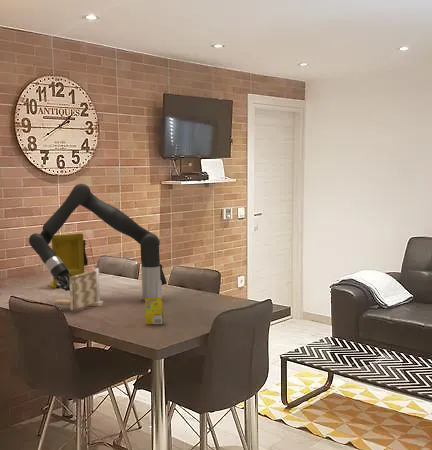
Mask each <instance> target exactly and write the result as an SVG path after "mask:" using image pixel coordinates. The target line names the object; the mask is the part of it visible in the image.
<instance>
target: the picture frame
mask: <svg viewBox="0 0 432 450" xmlns="http://www.w3.org/2000/svg"><path fill="white" fill-rule="evenodd" d="M94 270H95V271H96V294H97V302H94V303H91V304H89V305H86V306H88V307H90V306H91V307H100V306H102V305H104V300H101V299H100V298H101V296H100V269H99V268H98V267H94ZM52 305H66V306H69V305H70V299H62V298H57V299H56V300H53V301H52Z"/></svg>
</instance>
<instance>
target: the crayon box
mask: <svg viewBox="0 0 432 450" xmlns="http://www.w3.org/2000/svg"><path fill="white" fill-rule="evenodd" d="M150 299H157V300H156V301H150ZM162 299H163V297H162V298H145V301H144V309H145V310H144V313H145V325H163V324H164V304H163V301H164V300H162Z"/></svg>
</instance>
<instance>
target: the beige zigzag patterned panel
mask: <svg viewBox="0 0 432 450" xmlns="http://www.w3.org/2000/svg"><path fill="white" fill-rule="evenodd" d="M69 280H70V291H69V298H70V299H69V300H70V306H69V308H70V311H75V310H77V309H80V308H83V307H85V306H86V305H89V304H91V303H94V302H97V294H96V271H95V269H94V270H92V271H87V272H84V273H83V274H79V275H75V276H72V277H69Z"/></svg>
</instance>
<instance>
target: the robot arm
mask: <svg viewBox="0 0 432 450" xmlns="http://www.w3.org/2000/svg"><path fill="white" fill-rule="evenodd" d="M79 206H81V207H84V208H85V209H87V210H88V211H90V212H92V213H93V214H94V215H96V216H97V217H98V218H99V219H100V220H101V221H103V222H104V223H106V224H107V225H108V226H109V227H111V228H112V229H114V230H115V231H117V232H119V233H121V234H123V235H125V236H128V237H130V238H132V239H133V240H134V241H136V242H137V244H139V245H140V262H141V294H142V295H141V299H142V301H144V302H145V298H162V299H163V289H162V287H163V285H162V281H161V280H160V264H161V261H160V260H161V259H160V245H161V240H160V238H159V237H158V236H157V235H156V234H155V233H153V232H150V231H149V230H147V229H146V228H144V227H142V226H141V225H139V224H138V223H137V222H136V221H134V219H132V218H131V217H130V216H128V215H127V214H125V213H124V211H121V210H120V209H118V207H115V206H114V205H111V204H109V203H107V202H104V201H102V200H101V199H99V198H98V197H97V196H96V195H95V194H94V193H92V192H91V189H90V187H89V186H88V185H87V184H86V183H85V184H84V183H78V184H76V185H74V186H73V188H72V190H71V191H70V193H69V194H68V196H67V197H66V199H65V200H64V202H63V203H62V204H61V206H60V207H59V208H58V209H57V210H56V211H55V212H54V213H52V215H51V216H50V217H49V219H48V220H47V221H45V223H44V224H43V225H42V229H41V231H40V233H32V234H31V235H29V238H28V243H29V246H31V248H32V249H33V250H34V251H35V253H36V254H37V255H38V256H39V258H40V259H41V261H42V263H44V265H45V268H46V269H47V270H48V272H49V273H50V274H51V276H52V278H53V277H54V278H55V279H56V280H57V281H58V283H57V284H56V286H57V287H58V288H60V289H62V290H64V291H65V292H67V291H68V292H70V280H69V277H72V275H70V274H69V270H68V268H67V267H66V266H65V264H64V263H63V262H62V260H61V259H60V258H59V257H58V256H57V255H56V253H55V252H54V251H53V250H52V247H50V243H52V238H53V236H54V235H57V232H58V231H59V230H60V229H61V228H63V226H64V225H65V223H66V222H67V220H68V219H69V218H70V216H71V215H72V214H73V212H74V211H75V210H76V209H77V208H78V207H79ZM156 300H157V299H150V301H156Z"/></svg>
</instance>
